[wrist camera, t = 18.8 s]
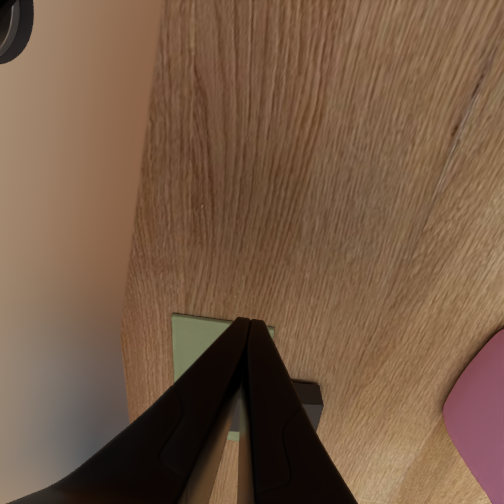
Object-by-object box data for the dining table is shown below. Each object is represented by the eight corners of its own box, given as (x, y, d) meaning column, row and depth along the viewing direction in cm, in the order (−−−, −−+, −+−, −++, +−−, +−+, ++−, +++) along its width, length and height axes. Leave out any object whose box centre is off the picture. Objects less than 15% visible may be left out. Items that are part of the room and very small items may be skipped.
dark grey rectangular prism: (207, 430, 27) (314, 438, 27) (208, 397, 25) (324, 406, 25) (211, 405, 29) (310, 413, 29) (212, 373, 27) (318, 381, 27)
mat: (257, 441, 32) (256, 444, 32) (177, 427, 33) (176, 431, 32) (274, 327, 25) (274, 330, 25) (172, 312, 26) (171, 315, 25)
